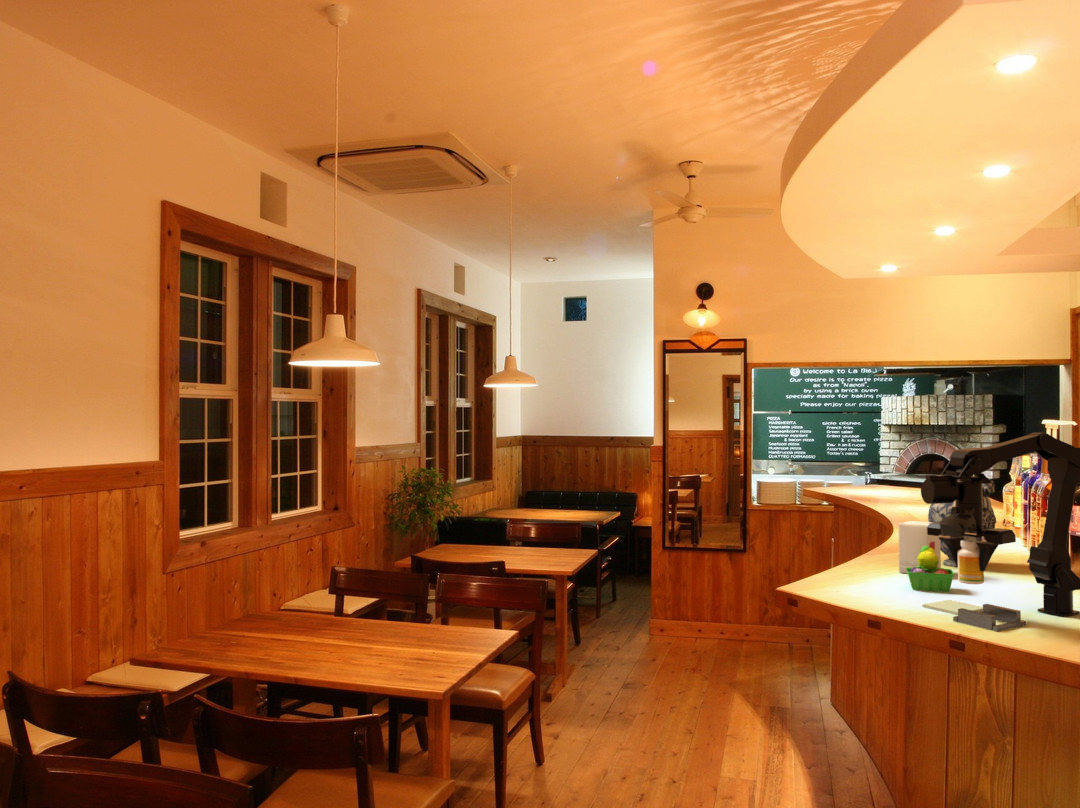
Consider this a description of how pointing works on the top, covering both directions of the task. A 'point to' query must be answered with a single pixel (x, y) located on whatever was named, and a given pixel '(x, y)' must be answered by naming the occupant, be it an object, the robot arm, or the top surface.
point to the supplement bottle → (969, 563)
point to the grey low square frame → (991, 618)
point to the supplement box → (915, 543)
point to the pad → (951, 606)
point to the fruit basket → (929, 573)
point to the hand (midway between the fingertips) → (970, 569)
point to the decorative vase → (944, 510)
